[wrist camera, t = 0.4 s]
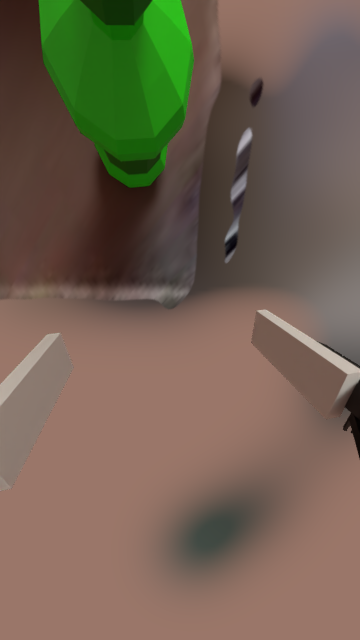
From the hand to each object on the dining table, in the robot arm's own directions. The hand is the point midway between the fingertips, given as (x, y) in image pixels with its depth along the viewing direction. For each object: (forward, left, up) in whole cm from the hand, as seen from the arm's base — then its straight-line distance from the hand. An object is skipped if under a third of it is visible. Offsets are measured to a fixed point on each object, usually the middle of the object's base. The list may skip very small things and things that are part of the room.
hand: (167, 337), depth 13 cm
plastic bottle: (-18, +1, -27) cm, 32 cm away
